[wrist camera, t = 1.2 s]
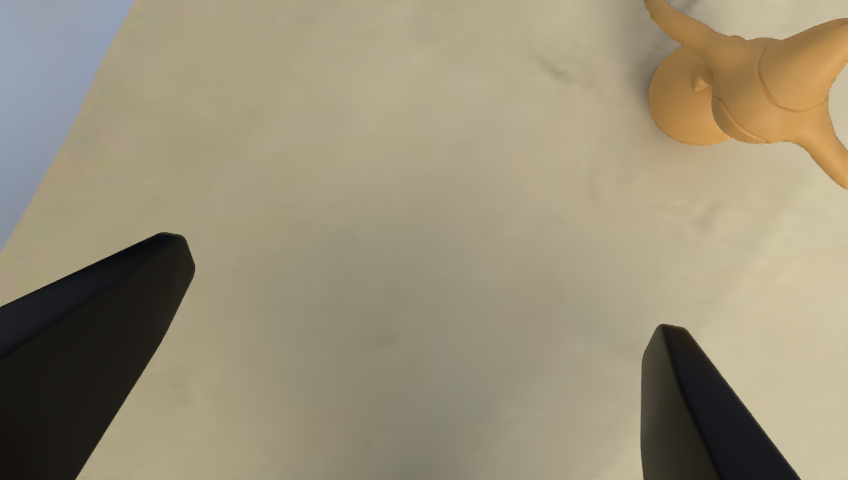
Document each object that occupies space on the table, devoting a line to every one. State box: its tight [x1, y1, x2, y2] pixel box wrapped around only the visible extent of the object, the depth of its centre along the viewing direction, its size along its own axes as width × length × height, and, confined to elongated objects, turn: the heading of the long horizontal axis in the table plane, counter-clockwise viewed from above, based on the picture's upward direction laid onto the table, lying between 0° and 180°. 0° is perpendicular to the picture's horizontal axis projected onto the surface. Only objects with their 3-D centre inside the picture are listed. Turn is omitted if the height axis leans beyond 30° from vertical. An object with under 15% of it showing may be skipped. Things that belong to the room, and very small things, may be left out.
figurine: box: [643, 0, 848, 190], centre depth 16 cm, size 8×6×12 cm
